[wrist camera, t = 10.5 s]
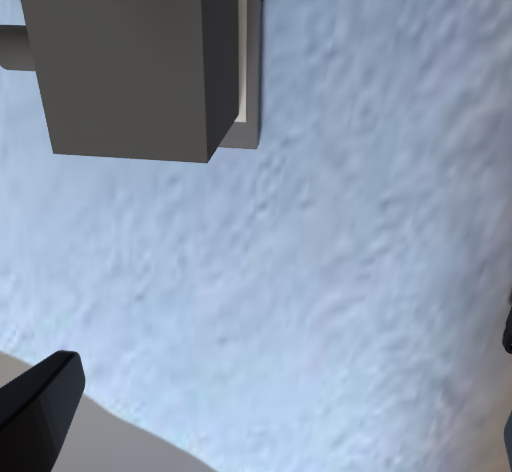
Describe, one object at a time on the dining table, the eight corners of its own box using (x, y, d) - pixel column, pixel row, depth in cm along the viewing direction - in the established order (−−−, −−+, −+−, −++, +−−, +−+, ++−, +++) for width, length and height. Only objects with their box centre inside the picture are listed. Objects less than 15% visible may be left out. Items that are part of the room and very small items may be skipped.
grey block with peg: (239, -23, 17) (200, -26, 11) (239, 114, 19) (207, 163, 14) (14, -27, 18) (-116, -31, 12) (42, 104, 20) (-57, 146, 15)
